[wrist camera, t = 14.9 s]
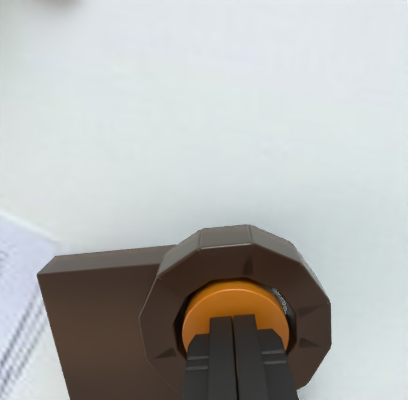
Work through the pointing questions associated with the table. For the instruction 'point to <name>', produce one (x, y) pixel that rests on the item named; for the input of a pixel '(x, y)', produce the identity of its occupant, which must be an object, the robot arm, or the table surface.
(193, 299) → the light button
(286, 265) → the switch block
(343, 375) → the table surface
